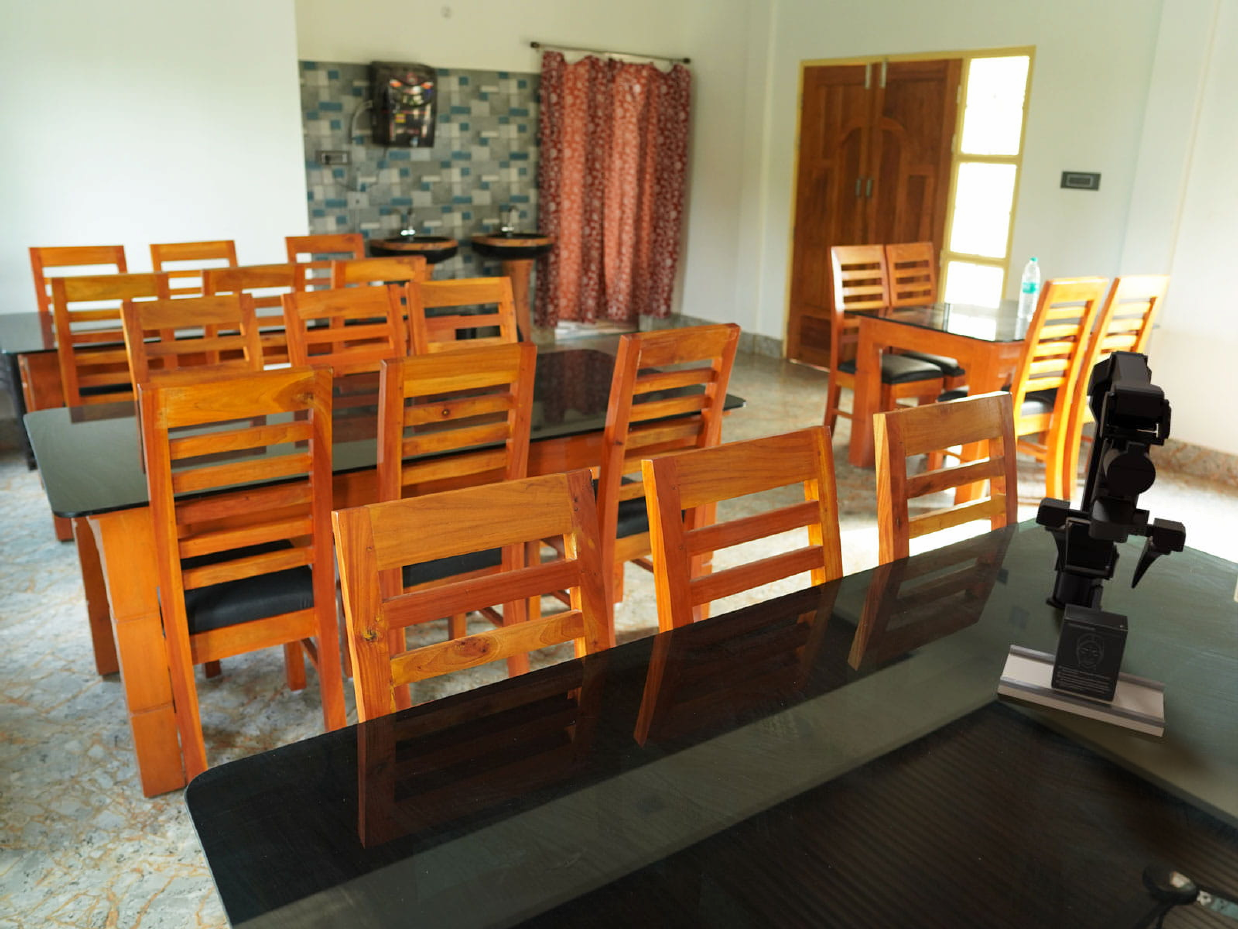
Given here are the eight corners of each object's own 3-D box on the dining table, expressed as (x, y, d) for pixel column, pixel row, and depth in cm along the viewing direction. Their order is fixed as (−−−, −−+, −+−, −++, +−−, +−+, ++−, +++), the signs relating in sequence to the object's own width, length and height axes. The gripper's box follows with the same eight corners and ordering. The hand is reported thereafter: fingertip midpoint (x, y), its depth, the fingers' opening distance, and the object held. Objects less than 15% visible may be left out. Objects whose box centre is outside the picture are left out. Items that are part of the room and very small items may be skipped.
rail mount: (997, 692, 136) (1000, 679, 135) (1008, 657, 146) (1011, 644, 146) (1161, 737, 127) (1165, 723, 127) (1161, 695, 138) (1164, 682, 137)
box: (1112, 685, 137) (1128, 615, 134) (1112, 703, 132) (1129, 631, 129) (1051, 670, 141) (1065, 601, 138) (1049, 687, 136) (1064, 616, 133)
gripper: (1042, 476, 135) (1021, 582, 140) (1198, 504, 127) (1171, 616, 132) (1049, 458, 145) (1030, 558, 149) (1195, 483, 137) (1169, 588, 141)
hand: (1097, 579), depth 143 cm, fingers open, 9 cm apart
